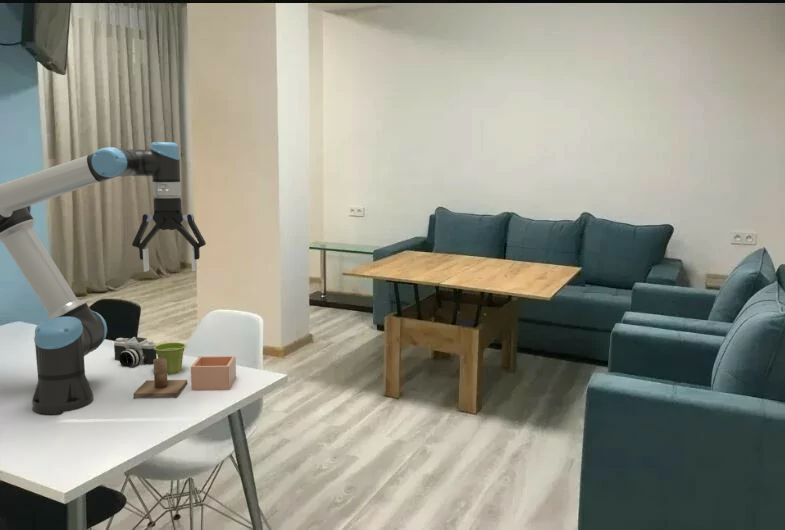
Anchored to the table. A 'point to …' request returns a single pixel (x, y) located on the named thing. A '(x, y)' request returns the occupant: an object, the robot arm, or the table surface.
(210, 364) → the pink open box
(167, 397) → the mat
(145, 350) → the camera
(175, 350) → the plant pot
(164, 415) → the table surface
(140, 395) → the lid
